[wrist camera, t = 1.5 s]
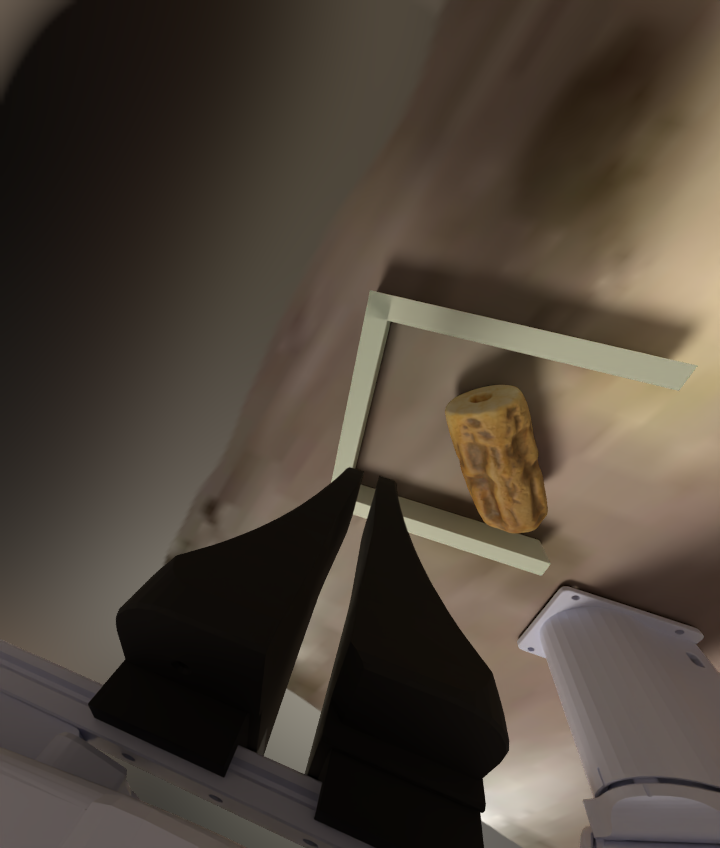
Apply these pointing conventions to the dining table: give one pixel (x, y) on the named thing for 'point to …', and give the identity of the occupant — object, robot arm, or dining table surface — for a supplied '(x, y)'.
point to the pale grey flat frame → (493, 333)
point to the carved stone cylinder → (499, 456)
